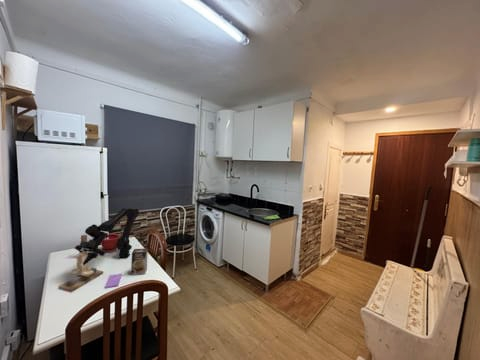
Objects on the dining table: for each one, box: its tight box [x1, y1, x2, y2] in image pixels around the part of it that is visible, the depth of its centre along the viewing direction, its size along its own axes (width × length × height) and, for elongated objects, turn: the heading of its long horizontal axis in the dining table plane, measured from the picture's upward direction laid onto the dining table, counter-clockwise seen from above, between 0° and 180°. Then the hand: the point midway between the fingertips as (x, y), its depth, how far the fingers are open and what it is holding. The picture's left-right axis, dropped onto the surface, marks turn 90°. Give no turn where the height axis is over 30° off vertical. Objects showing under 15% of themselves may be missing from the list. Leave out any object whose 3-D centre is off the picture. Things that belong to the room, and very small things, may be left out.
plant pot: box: [100, 233, 121, 253], centre depth 162 cm, size 13×13×12 cm
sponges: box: [104, 272, 123, 289], centre depth 122 cm, size 7×13×2 cm, turn 23°
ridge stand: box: [58, 267, 104, 293], centre depth 121 cm, size 20×10×4 cm, turn 168°
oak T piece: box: [71, 251, 94, 276], centre depth 120 cm, size 12×4×13 cm, turn 78°
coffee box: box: [130, 248, 149, 276], centre depth 133 cm, size 9×6×16 cm
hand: (80, 264), depth 119 cm, fingers closed on oak T piece, 4 cm apart
